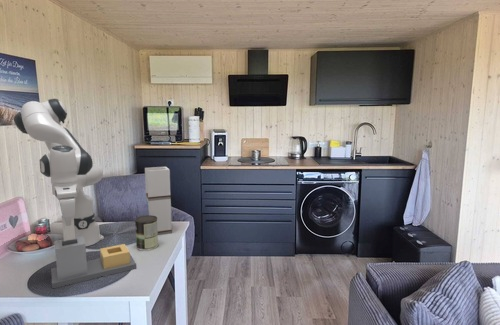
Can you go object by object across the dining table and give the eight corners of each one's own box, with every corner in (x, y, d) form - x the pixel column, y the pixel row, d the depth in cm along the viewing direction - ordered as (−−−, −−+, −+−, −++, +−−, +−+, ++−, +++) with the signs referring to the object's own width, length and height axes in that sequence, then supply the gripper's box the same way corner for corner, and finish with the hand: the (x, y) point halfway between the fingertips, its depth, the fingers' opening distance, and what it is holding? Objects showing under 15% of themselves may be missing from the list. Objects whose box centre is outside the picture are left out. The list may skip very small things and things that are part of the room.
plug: (63, 237, 127) (61, 212, 125) (74, 235, 129) (72, 211, 127) (64, 240, 124) (62, 215, 122) (75, 239, 126) (73, 213, 124)
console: (51, 273, 131) (48, 240, 129) (129, 256, 146) (127, 226, 144) (52, 288, 119) (48, 252, 117) (136, 268, 135) (134, 236, 132)
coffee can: (133, 251, 152) (132, 222, 150) (139, 242, 162) (138, 215, 160) (156, 250, 153) (154, 221, 151) (160, 241, 163) (159, 214, 161)
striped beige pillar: (168, 227, 185) (166, 166, 179) (171, 233, 175) (169, 169, 170) (147, 229, 180) (144, 167, 175) (150, 236, 170) (147, 170, 165)
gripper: (55, 184, 130) (57, 217, 132) (56, 195, 113) (59, 233, 115) (72, 182, 134) (75, 214, 136) (77, 193, 117) (79, 229, 119)
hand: (68, 223), depth 125 cm, fingers closed on plug, 4 cm apart
